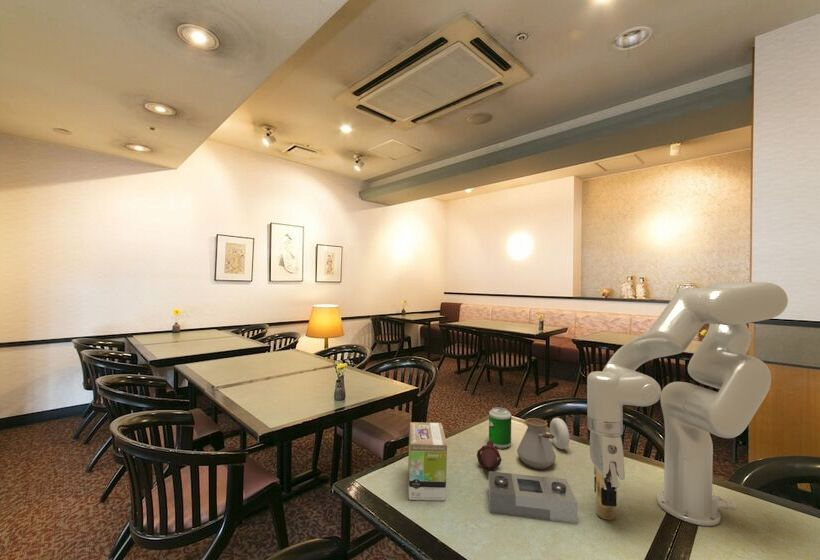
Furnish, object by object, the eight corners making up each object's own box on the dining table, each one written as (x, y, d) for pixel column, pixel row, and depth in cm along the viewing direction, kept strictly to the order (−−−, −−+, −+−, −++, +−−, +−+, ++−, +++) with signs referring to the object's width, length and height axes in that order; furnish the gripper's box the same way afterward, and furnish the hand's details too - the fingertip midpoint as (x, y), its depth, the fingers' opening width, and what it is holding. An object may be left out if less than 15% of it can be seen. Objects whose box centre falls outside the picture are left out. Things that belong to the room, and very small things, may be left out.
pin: (611, 509, 88) (610, 461, 88) (617, 520, 84) (617, 469, 84) (593, 508, 89) (593, 460, 89) (599, 518, 85) (598, 468, 85)
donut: (547, 441, 127) (548, 413, 127) (557, 441, 128) (557, 413, 128) (561, 455, 117) (561, 424, 117) (571, 454, 118) (571, 424, 118)
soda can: (513, 443, 125) (514, 409, 125) (507, 452, 119) (507, 416, 119) (492, 438, 129) (493, 405, 129) (485, 446, 123) (486, 411, 123)
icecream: (504, 460, 101) (503, 441, 115) (479, 450, 102) (480, 433, 117) (498, 484, 101) (497, 462, 115) (472, 473, 102) (475, 454, 117)
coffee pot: (513, 453, 118) (513, 407, 118) (548, 454, 118) (549, 409, 118) (531, 490, 97) (532, 435, 97) (574, 492, 96) (575, 437, 96)
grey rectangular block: (566, 498, 94) (566, 476, 94) (576, 523, 84) (577, 499, 84) (488, 489, 97) (488, 468, 97) (490, 512, 87) (490, 489, 87)
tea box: (447, 501, 92) (447, 444, 92) (408, 501, 92) (408, 443, 92) (441, 470, 107) (442, 421, 107) (408, 470, 107) (408, 420, 107)
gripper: (637, 440, 78) (637, 524, 78) (608, 412, 94) (609, 481, 94) (600, 438, 79) (600, 520, 79) (578, 410, 96) (578, 478, 96)
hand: (605, 498), depth 87 cm, fingers closed on pin, 4 cm apart
